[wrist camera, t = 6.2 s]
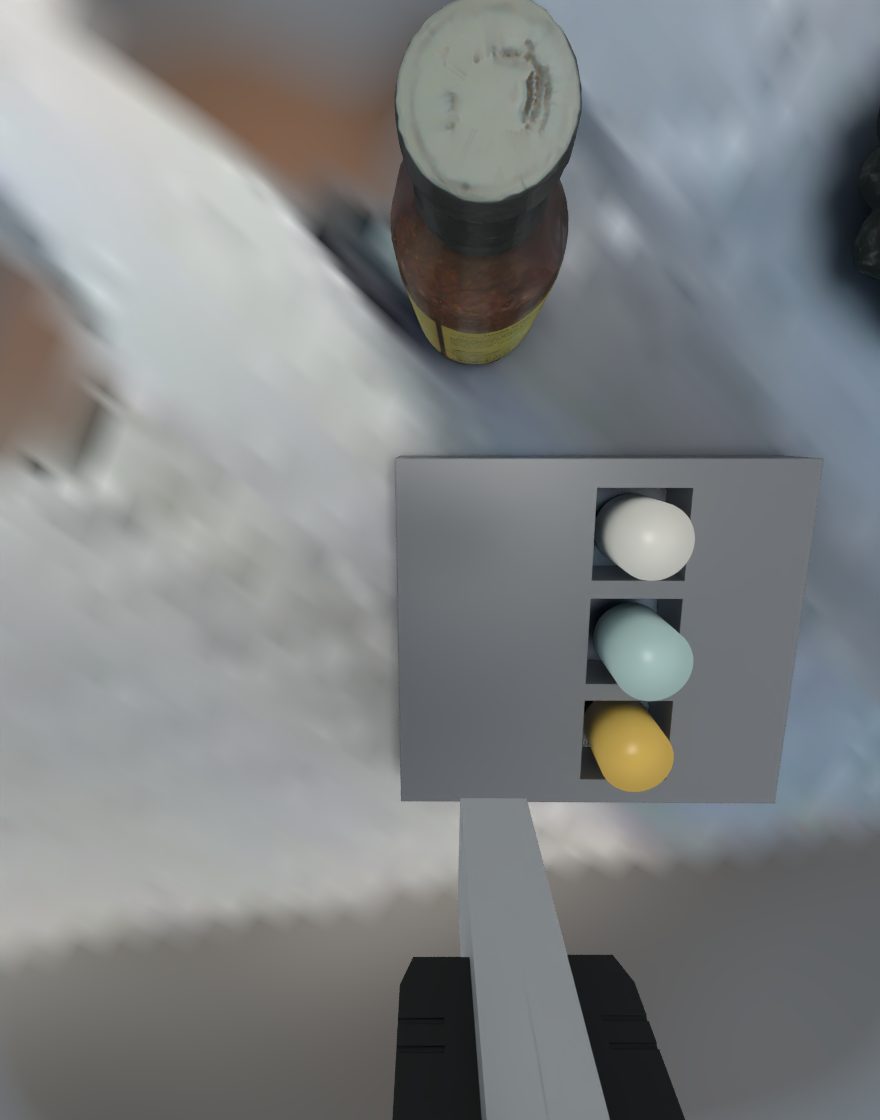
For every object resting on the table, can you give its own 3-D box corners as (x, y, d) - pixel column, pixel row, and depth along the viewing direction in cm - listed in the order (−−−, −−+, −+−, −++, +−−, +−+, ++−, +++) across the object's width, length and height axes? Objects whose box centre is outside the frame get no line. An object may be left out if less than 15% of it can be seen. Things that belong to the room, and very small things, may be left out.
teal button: (591, 669, 33) (610, 700, 29) (595, 602, 32) (615, 625, 28) (660, 669, 33) (689, 701, 29) (666, 602, 32) (697, 626, 28)
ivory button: (592, 563, 33) (611, 580, 29) (595, 493, 32) (616, 501, 28) (661, 563, 33) (691, 581, 29) (667, 493, 32) (698, 501, 28)
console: (405, 767, 38) (401, 801, 34) (400, 455, 33) (395, 458, 30) (744, 769, 37) (774, 803, 34) (784, 455, 33) (823, 458, 30)
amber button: (580, 752, 36) (597, 791, 32) (584, 692, 35) (601, 725, 31) (646, 752, 36) (670, 792, 32) (651, 692, 35) (677, 725, 31)
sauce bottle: (553, 291, 31) (728, 60, 12) (488, 391, 32) (550, 330, 13) (453, 218, 31) (463, -155, 11) (390, 323, 32) (300, 151, 12)
